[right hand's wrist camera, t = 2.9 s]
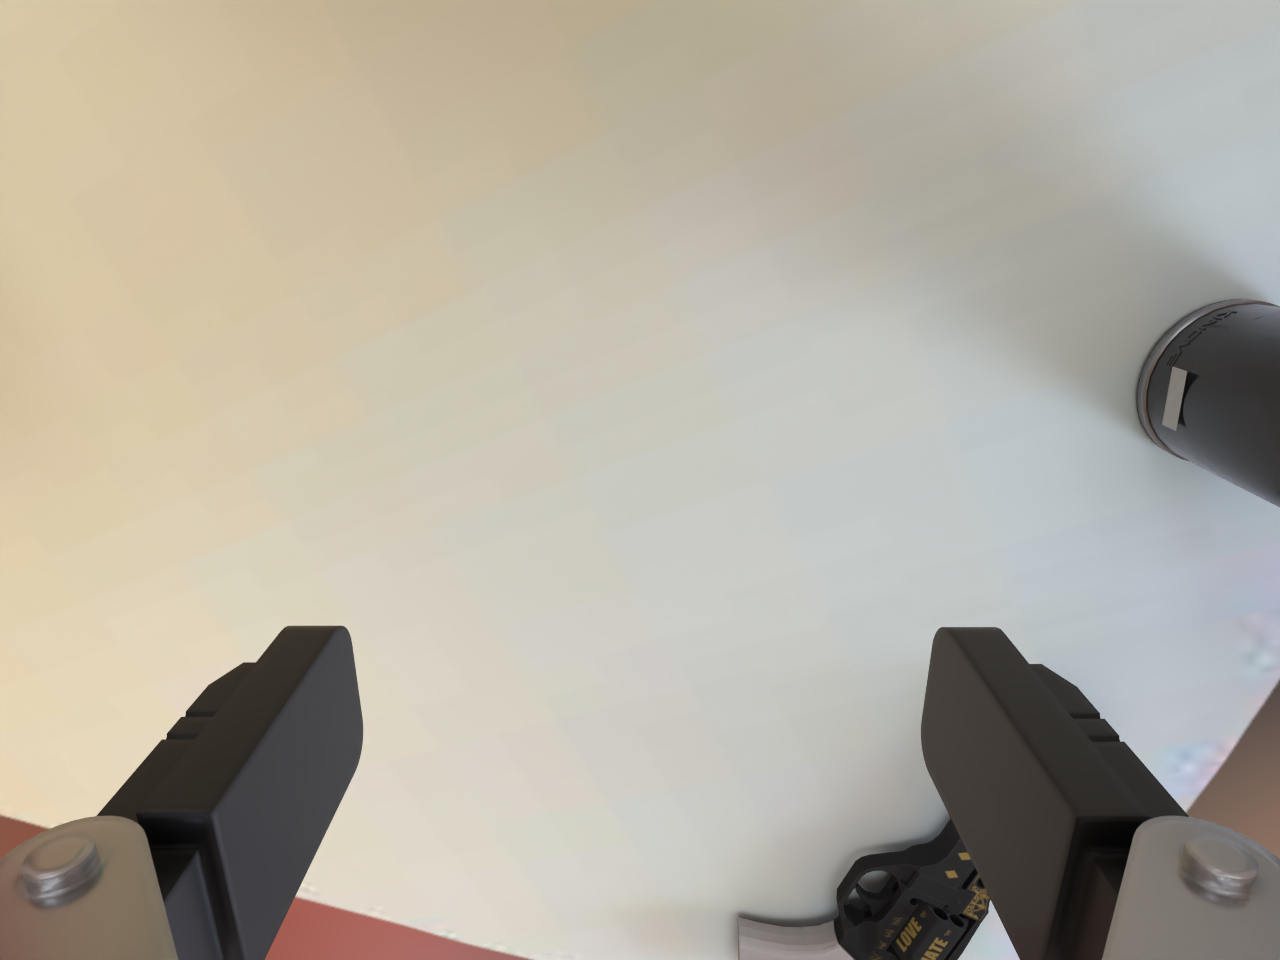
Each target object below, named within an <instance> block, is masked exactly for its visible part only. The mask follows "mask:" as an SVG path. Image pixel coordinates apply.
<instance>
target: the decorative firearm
mask: <svg viewBox="0 0 1280 960" xmlns="http://www.w3.org/2000/svg"><path fill="white" fill-rule="evenodd" d="M881 870H882V871H885V872H888V873H891V874H892V875H893V876H892V877H891V879H890V880H889V882H888V883H887V885H886V886H885V887H884V888H883V890H882V891H881V892H880V893H871V892H867V891H865V890H864V889H863V888H862V887H861V886H860V885H859V884H858V882H859V880H860V879H861V877H862V876H863V875H865V874H866V873H868V872H871V871H881ZM854 888H856V892H857V893H858V895H859V896H860V897H861V898H862V899H863V900H864V901H865V902H866V903H867V904H868V906H866V907H865V908H863V909H859V908H855V907H853V906H852V905H850V904H844V902H845V901H846V899H847V898H848V896H849V895H850V894H851V892H852V891H853V889H854ZM990 900H991V899H990V897H989V895H988V893H987V891H986V889H985V887H984V885H983V883H982V880H981V878H980V876H979V874H978V872H977V870H976V868H975V866H974V864H973V862H972V860H971V858H970V856H969V854H968V852H967V850H966V848H965V846H964V844H963V842H962V840H961V838H960V835H959V833H958V831H957V829H956V827H955V825H954V823H953V821H952V819H950V820H949V822H948V823H947V825H946V826H945V828H944V829H943V831H942V832H941V833H940V835H938V836H937V837H936V838H935V839H934V840H932V841H931V842H929V843H925V844H920V845H915V846H912V847H910V848H908V849H906V850H905V851H900V852H890V853H880V854H871V855H867V856H863V857H861V858H859V859H858V860H856V861H855V863H854V864H853V866H852V867H851V869H850V870H849V872H848V873H847V875H846V876H845V878H844V879H843V881H842V882H841V884H840V885H839V887H838V888H837V903H838V907H839V916H838V917H837V918H836V919H835V920H832V921H830V922H827V923H824V924H821V925H817V926H807V927H783V926H777V925H771V924H765V923H760V922H756V921H752V920H748V919H744V918H740V917H738V957H739V960H957V959H958V958H959V957H960V955H961V954H962V953H963V951H964V949H965V948H966V946H967V945H968V943H969V941H970V940H971V938H972V936H973V935H974V933H975V932H976V930H977V928H978V927H979V925H980V923H981V922H982V921H983V919H984V918H985V917H986V915H987V914H988V907H989V902H990Z"/></svg>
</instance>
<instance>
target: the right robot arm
mask: <svg viewBox="0 0 1280 960" xmlns="http://www.w3.org/2000/svg"><path fill="white" fill-rule="evenodd" d="M1137 403H1138V411H1139V416H1140V419H1141V422H1142V424H1143V427H1144V429H1145V430H1146V432H1147V434H1148V435H1149V436H1150V438H1151V439H1152V440H1153V441H1154V442H1155V443H1156V444H1157V445H1158V446H1159V447H1161V448H1162V449H1163V450H1165V451H1167V452H1169V453H1170V454H1172V455H1174V456H1176V457H1179V458H1181V459H1183V460H1186V461H1190V462H1192V463H1194V464H1196V465H1198V466H1200V467H1202V468H1204V469H1206V470H1208V471H1210V472H1211V473H1213V474H1215V475H1217V476H1219V477H1221V478H1223V479H1225V480H1227V481H1229V482H1231V483H1233V484H1235V485H1237V486H1239V487H1241V488H1243V489H1245V490H1247V491H1249V492H1251V493H1253V494H1255V495H1257V496H1259V497H1261V498H1263V499H1265V500H1266V501H1268V502H1270V503H1272V504H1274V505H1276V506H1278V507H1280V307H1279V306H1276V305H1273V304H1270V303H1266V302H1261V301H1256V300H1248V299H1237V300H1228V301H1222V302H1218V303H1215V304H1212V305H1209V306H1206V307H1204V308H1202V309H1199V310H1197V311H1195V312H1194V313H1192V314H1190V315H1188V316H1187V317H1185V318H1184V319H1183V320H1181V321H1180V322H1179V323H1177V324H1176V325H1175V326H1174V327H1172V328H1171V329H1170V330H1169V331H1168V332H1167V333H1166V334H1165V335H1164V337H1163V338H1162V339H1161V340H1160V341H1159V342H1158V344H1157V345H1156V346H1155V348H1154V349H1153V351H1152V352H1151V354H1150V356H1149V358H1148V360H1147V361H1146V364H1145V366H1144V368H1143V371H1142V374H1141V377H1140V381H1139V386H1138V395H1137ZM921 741H922V750H923V755H924V760H925V764H926V767H927V769H928V772H929V774H930V776H931V778H932V780H933V782H934V784H935V786H936V788H937V790H938V792H939V795H940V797H941V799H942V801H943V803H944V805H945V807H946V809H947V811H948V813H949V815H950V817H951V819H952V821H953V823H954V825H955V827H956V829H957V831H958V833H959V835H960V838H961V840H962V842H963V844H964V846H965V848H966V850H967V852H968V854H969V856H970V858H971V860H972V862H973V864H974V866H975V868H976V870H977V872H978V874H979V876H980V878H981V880H982V883H983V885H984V887H985V889H986V891H987V893H988V895H989V897H990V899H991V901H992V903H993V905H994V907H995V909H996V911H997V913H998V915H999V917H1000V919H1001V921H1002V923H1003V926H1004V928H1005V930H1006V932H1007V934H1008V936H1009V938H1010V940H1011V942H1012V944H1013V946H1014V948H1015V950H1016V952H1017V954H1018V956H1019V958H1020V960H1280V859H1279V858H1278V857H1277V856H1275V855H1274V854H1273V853H1271V852H1270V851H1269V850H1267V849H1266V848H1265V847H1263V846H1261V845H1260V844H1258V843H1256V842H1255V841H1253V840H1252V839H1250V838H1248V837H1246V836H1244V835H1242V834H1240V833H1238V832H1236V831H1234V830H1231V829H1229V828H1226V827H1224V826H1221V825H1218V824H1215V823H1212V822H1209V821H1205V820H1201V819H1197V818H1192V817H1189V816H1188V815H1187V814H1186V813H1185V811H1184V810H1183V809H1182V808H1181V807H1180V806H1179V805H1178V803H1177V802H1176V801H1175V800H1174V799H1173V798H1172V796H1171V795H1170V794H1169V793H1168V792H1167V791H1166V790H1165V788H1164V787H1163V786H1162V785H1161V784H1160V783H1159V781H1158V780H1157V779H1156V778H1155V777H1154V776H1153V774H1152V773H1151V772H1150V771H1149V770H1148V769H1147V768H1146V766H1145V765H1144V764H1143V763H1142V762H1141V761H1140V759H1139V758H1138V757H1137V756H1136V755H1135V754H1134V753H1133V751H1132V750H1131V749H1130V748H1129V747H1128V746H1127V744H1126V743H1125V742H1120V740H1119V735H1118V734H1117V733H1116V732H1115V731H1114V729H1113V728H1112V727H1111V726H1110V725H1109V724H1108V722H1107V721H1106V720H1105V719H1100V713H1099V712H1098V711H1097V710H1096V709H1095V707H1094V706H1093V705H1092V704H1091V703H1090V702H1089V700H1088V699H1087V698H1086V697H1085V696H1084V695H1083V694H1082V692H1081V691H1080V690H1079V689H1078V688H1077V687H1076V686H1075V685H1073V684H1071V683H1070V682H1068V681H1067V680H1065V679H1064V678H1062V677H1061V676H1059V675H1058V674H1056V673H1054V672H1053V671H1051V670H1050V669H1048V668H1047V667H1045V666H1044V665H1042V664H1029V663H1028V662H1027V661H1026V660H1025V658H1024V657H1023V656H1022V655H1021V653H1020V652H1019V651H1018V650H1017V648H1016V647H1015V646H1014V645H1013V643H1012V642H1011V641H1010V640H1009V638H1008V637H1007V636H1006V635H1005V634H1004V632H1003V631H1002V630H1001V629H999V628H996V627H942V628H940V629H938V631H937V632H936V634H935V637H934V640H933V645H932V652H931V659H930V666H929V673H928V680H927V687H926V694H925V701H924V709H923V716H922V724H921ZM362 742H363V720H362V712H361V705H360V698H359V691H358V683H357V676H356V669H355V662H354V655H353V647H352V641H351V637H350V634H349V632H348V630H347V628H345V627H344V626H287V627H285V628H284V629H283V630H282V631H281V632H280V633H279V634H278V636H277V637H276V638H275V639H274V641H273V642H272V643H271V644H270V646H269V647H268V648H267V650H266V651H265V652H264V653H263V655H262V656H261V657H260V658H259V660H258V661H257V662H256V663H242V664H241V665H239V666H238V667H236V668H234V669H233V670H231V671H230V672H228V673H227V674H225V675H224V676H222V677H221V678H219V679H217V680H216V681H214V682H213V683H211V684H210V685H208V686H207V688H206V689H205V690H204V691H203V692H202V693H201V695H200V696H199V697H198V698H197V699H196V700H195V702H194V703H193V704H192V705H191V706H190V707H189V709H188V710H187V711H186V716H185V717H181V718H180V719H179V720H178V721H177V723H176V724H175V725H174V726H173V727H172V728H171V730H170V731H169V732H168V733H167V738H166V740H161V741H160V743H159V744H158V745H157V746H156V747H155V748H154V750H153V751H152V752H151V753H150V754H149V755H148V757H147V758H146V759H145V760H144V761H143V762H142V764H141V765H140V766H139V767H138V768H137V769H136V771H135V772H134V773H133V774H132V775H131V776H130V778H129V779H128V780H127V781H126V782H125V783H124V785H123V786H122V787H121V788H120V789H119V790H118V792H117V793H116V794H115V795H114V796H113V797H112V799H111V800H110V801H109V802H108V803H107V804H106V806H105V807H104V808H103V809H102V810H101V811H100V813H99V814H98V815H97V816H95V817H88V818H83V819H79V820H74V821H71V822H68V823H65V824H62V825H59V826H56V827H54V828H51V829H49V830H46V831H44V832H42V833H40V834H38V835H36V836H34V837H32V838H30V839H28V840H27V841H25V842H23V843H22V844H20V845H19V846H17V847H15V848H14V849H13V850H11V851H10V852H9V853H7V854H6V855H5V856H3V857H2V858H1V859H0V960H264V959H265V957H266V955H267V953H268V951H269V949H270V947H271V945H272V943H273V941H274V939H275V937H276V935H277V933H278V930H279V928H280V926H281V924H282V922H283V920H284V918H285V916H286V914H287V912H288V910H289V908H290V906H291V904H292V901H293V899H294V897H295V895H296V893H297V891H298V889H299V887H300V885H301V883H302V881H303V879H304V877H305V875H306V872H307V870H308V868H309V866H310V864H311V862H312V860H313V858H314V856H315V854H316V852H317V850H318V848H319V846H320V843H321V841H322V839H323V837H324V835H325V833H326V831H327V829H328V827H329V825H330V823H331V821H332V819H333V817H334V814H335V812H336V810H337V808H338V806H339V804H340V802H341V800H342V798H343V796H344V794H345V792H346V790H347V788H348V785H349V783H350V781H351V779H352V777H353V775H354V773H355V771H356V768H357V766H358V763H359V759H360V755H361V750H362Z"/></svg>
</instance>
